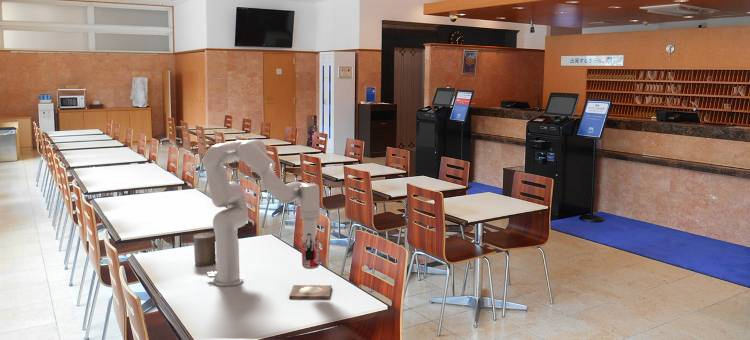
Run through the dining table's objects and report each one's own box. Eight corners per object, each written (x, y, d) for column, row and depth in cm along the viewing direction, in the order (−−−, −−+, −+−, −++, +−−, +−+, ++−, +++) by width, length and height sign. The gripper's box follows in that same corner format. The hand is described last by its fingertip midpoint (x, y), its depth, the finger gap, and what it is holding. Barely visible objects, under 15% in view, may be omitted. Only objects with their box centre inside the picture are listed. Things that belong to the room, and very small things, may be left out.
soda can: (316, 270, 258) (316, 238, 256) (299, 269, 259) (299, 237, 257) (321, 264, 265) (321, 234, 263) (305, 263, 266) (304, 233, 264)
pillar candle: (220, 262, 304) (219, 231, 302) (204, 267, 296) (203, 236, 294) (205, 259, 310) (204, 229, 307) (190, 264, 301) (188, 233, 299)
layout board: (289, 298, 257) (289, 295, 257) (293, 287, 270) (293, 284, 270) (329, 299, 257) (329, 296, 257) (331, 288, 270) (331, 285, 270)
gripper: (303, 209, 267) (304, 251, 270) (298, 219, 250) (298, 263, 253) (321, 209, 267) (321, 251, 270) (317, 219, 250) (317, 263, 253)
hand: (310, 256), depth 261 cm, fingers closed on soda can, 7 cm apart
